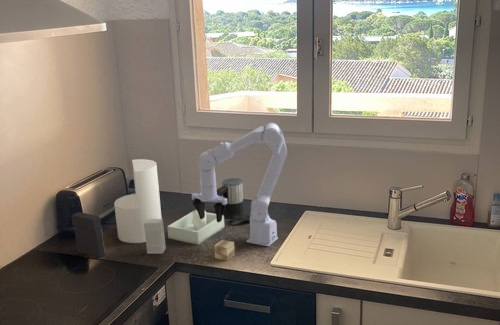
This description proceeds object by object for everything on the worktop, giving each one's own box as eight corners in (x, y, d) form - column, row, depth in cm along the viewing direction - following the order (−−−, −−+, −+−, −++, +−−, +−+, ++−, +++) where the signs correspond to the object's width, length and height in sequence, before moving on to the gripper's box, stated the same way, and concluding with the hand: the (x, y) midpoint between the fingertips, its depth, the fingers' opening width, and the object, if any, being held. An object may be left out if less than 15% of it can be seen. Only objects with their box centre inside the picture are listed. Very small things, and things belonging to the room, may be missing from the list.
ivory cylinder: (209, 226, 214) (208, 210, 212) (203, 231, 209) (201, 214, 207) (198, 225, 216) (196, 208, 214) (192, 229, 211) (190, 213, 209)
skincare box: (166, 248, 197) (163, 218, 194) (163, 254, 193) (160, 223, 190) (149, 248, 198) (146, 218, 195) (146, 254, 194) (143, 223, 191)
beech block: (234, 255, 190) (234, 242, 189) (227, 261, 186) (226, 247, 185) (222, 252, 193) (222, 239, 191) (215, 258, 189) (214, 245, 187)
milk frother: (229, 209, 233) (227, 176, 229) (262, 214, 226) (261, 180, 222) (212, 221, 221) (210, 187, 217) (247, 226, 214) (245, 191, 210)
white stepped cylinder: (160, 222, 222) (154, 157, 214) (165, 239, 206) (158, 169, 198) (117, 228, 218) (109, 162, 210) (118, 245, 202) (110, 174, 194)
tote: (224, 227, 214) (223, 215, 213) (198, 244, 200) (197, 232, 198) (195, 221, 221) (194, 210, 220) (168, 238, 206) (167, 226, 205)
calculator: (106, 254, 195) (101, 215, 191) (97, 258, 192) (92, 219, 188) (85, 248, 201) (79, 210, 197) (76, 253, 197) (70, 214, 193)
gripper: (185, 185, 196) (188, 220, 200) (218, 191, 188) (221, 226, 192) (197, 180, 201) (199, 213, 205) (229, 185, 194) (231, 220, 198)
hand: (210, 219), depth 199 cm, fingers open, 7 cm apart
